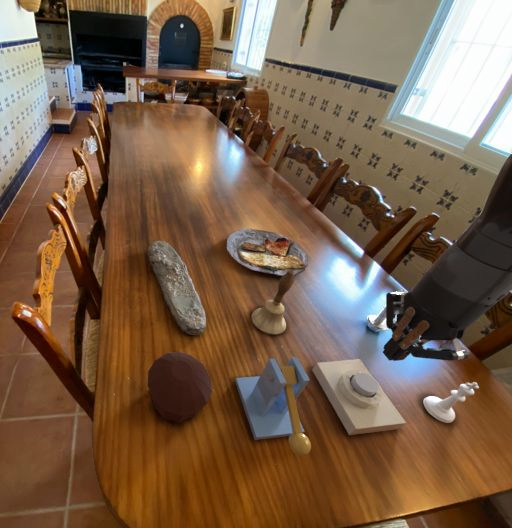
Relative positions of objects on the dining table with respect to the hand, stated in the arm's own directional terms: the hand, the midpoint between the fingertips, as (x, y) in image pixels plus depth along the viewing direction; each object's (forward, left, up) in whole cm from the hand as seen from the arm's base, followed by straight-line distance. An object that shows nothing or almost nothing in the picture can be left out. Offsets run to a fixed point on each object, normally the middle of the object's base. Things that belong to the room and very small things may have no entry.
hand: (390, 356), depth 50 cm
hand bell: (+20, +9, -14) cm, 26 cm away
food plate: (+46, -1, -14) cm, 48 cm away
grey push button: (0, 0, -10) cm, 10 cm away
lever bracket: (0, +18, -14) cm, 23 cm away
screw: (+16, -17, -14) cm, 28 cm away
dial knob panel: (0, 0, -14) cm, 14 cm away
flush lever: (-4, +18, -7) cm, 19 cm away
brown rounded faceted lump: (+3, +35, -14) cm, 38 cm away
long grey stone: (+34, +30, -14) cm, 48 cm away
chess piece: (-4, -16, -14) cm, 22 cm away
